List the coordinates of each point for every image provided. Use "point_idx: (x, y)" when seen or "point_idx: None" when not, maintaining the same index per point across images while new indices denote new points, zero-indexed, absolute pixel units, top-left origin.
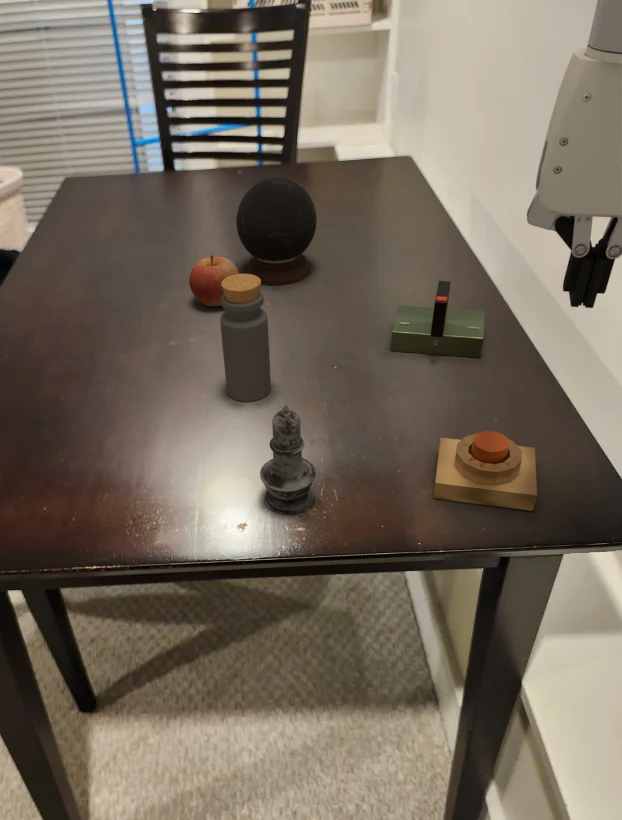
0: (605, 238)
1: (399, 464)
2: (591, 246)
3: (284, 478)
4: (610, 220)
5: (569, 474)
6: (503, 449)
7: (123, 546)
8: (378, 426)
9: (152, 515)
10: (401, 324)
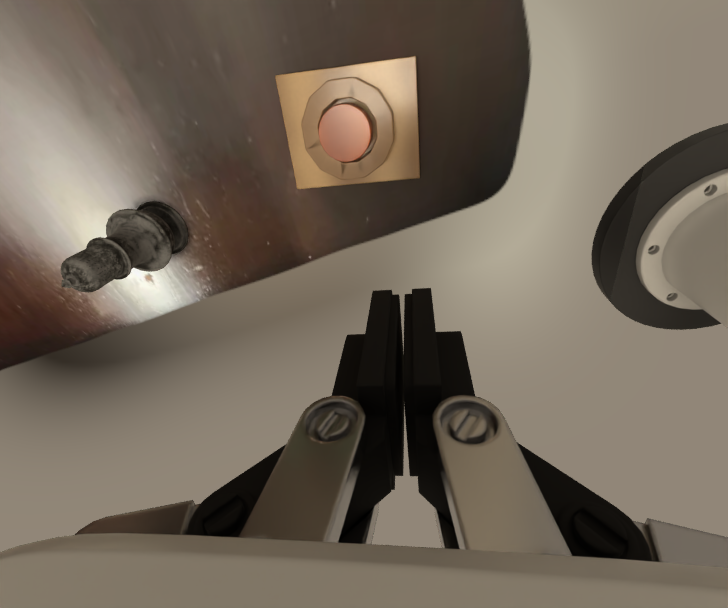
0: (436, 475)
1: (244, 123)
2: (385, 493)
3: (143, 263)
4: (452, 503)
5: (470, 68)
6: (364, 151)
7: (82, 323)
8: (178, 27)
9: None
10: None
